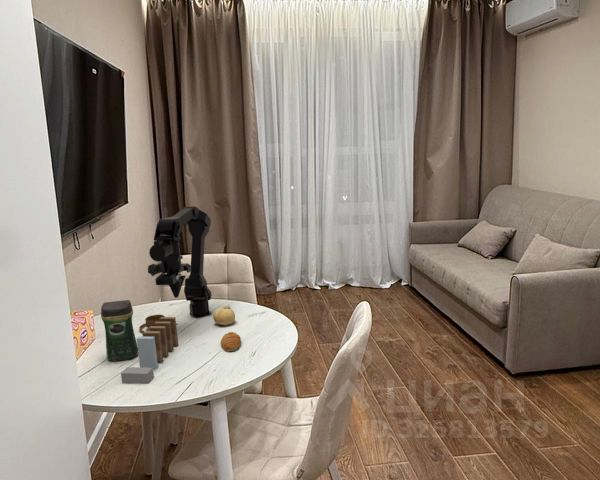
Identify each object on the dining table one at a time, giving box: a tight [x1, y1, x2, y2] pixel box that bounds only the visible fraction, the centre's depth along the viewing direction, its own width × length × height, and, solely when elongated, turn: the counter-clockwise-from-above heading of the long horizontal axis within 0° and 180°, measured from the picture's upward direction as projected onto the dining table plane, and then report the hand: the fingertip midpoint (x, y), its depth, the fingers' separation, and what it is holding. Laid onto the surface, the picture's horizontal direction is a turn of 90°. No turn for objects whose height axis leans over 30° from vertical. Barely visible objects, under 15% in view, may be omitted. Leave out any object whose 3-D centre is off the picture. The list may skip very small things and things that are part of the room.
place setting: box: [138, 314, 179, 334], centre depth 199 cm, size 18×20×6 cm
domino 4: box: [159, 316, 179, 348], centre depth 178 cm, size 2×5×10 cm, turn 82°
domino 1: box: [136, 336, 159, 371], centre depth 162 cm, size 2×5×10 cm, turn 82°
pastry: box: [220, 331, 242, 352], centre depth 176 cm, size 9×7×4 cm
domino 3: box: [148, 326, 169, 359], centre depth 170 cm, size 2×5×10 cm, turn 82°
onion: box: [212, 304, 236, 327], centre depth 197 cm, size 8×8×7 cm
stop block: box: [120, 366, 155, 384], centre depth 155 cm, size 4×8×3 cm, turn 82°
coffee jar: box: [100, 299, 138, 362], centre depth 171 cm, size 10×8×19 cm
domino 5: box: [154, 322, 174, 353], centre depth 174 cm, size 2×5×10 cm, turn 82°
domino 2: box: [142, 330, 164, 364], centre depth 166 cm, size 2×5×10 cm, turn 81°
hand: (176, 297), depth 189 cm, fingers closed
